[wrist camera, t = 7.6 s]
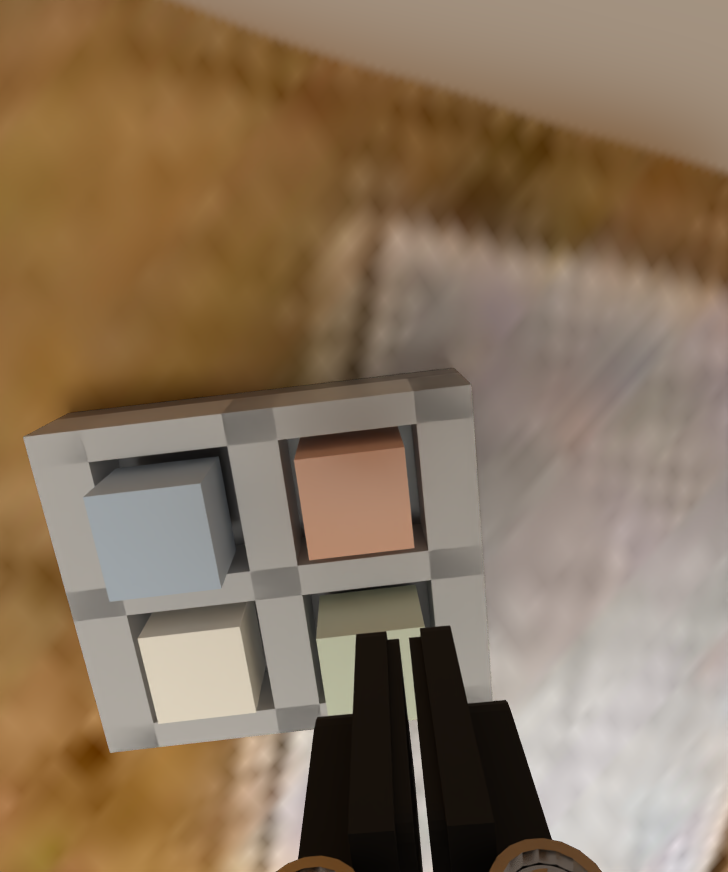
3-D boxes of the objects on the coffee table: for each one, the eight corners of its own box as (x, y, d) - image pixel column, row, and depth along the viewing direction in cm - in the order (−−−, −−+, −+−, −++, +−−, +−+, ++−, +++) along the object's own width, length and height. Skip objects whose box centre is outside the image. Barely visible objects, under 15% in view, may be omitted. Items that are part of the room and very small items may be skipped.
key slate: (218, 456, 20) (200, 483, 17) (236, 550, 21) (221, 588, 18) (115, 468, 20) (82, 496, 17) (138, 561, 21) (109, 601, 18)
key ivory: (251, 586, 23) (239, 626, 20) (265, 665, 24) (256, 712, 21) (160, 597, 23) (137, 638, 20) (178, 675, 24) (158, 723, 21)
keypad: (453, 367, 22) (471, 384, 19) (475, 654, 25) (493, 708, 22) (68, 413, 22) (23, 436, 19) (139, 693, 25) (110, 752, 22)
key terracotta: (397, 425, 21) (404, 447, 19) (406, 516, 22) (414, 548, 20) (300, 437, 21) (294, 460, 19) (313, 526, 22) (309, 560, 20)
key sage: (415, 584, 21) (424, 626, 19) (423, 667, 22) (433, 717, 20) (319, 595, 21) (316, 638, 19) (331, 677, 22) (329, 729, 20)
